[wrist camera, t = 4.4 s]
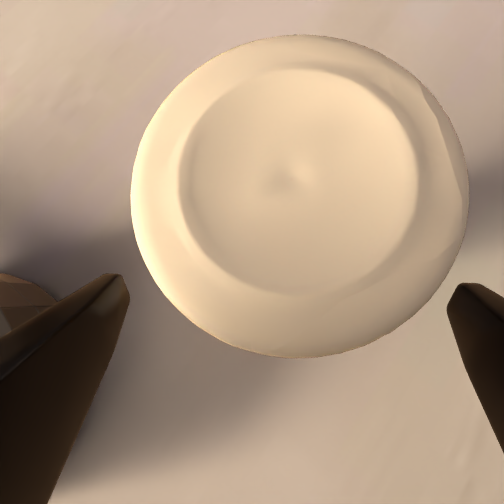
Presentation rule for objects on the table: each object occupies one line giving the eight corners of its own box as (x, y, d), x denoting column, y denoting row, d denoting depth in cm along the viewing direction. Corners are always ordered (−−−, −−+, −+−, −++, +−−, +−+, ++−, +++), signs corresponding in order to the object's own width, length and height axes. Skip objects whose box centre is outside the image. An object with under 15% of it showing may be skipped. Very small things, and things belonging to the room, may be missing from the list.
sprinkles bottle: (245, 228, 17) (155, 5, 4) (322, 238, 17) (495, 25, 4) (233, 305, 17) (79, 331, 3) (312, 317, 16) (483, 403, 3)
